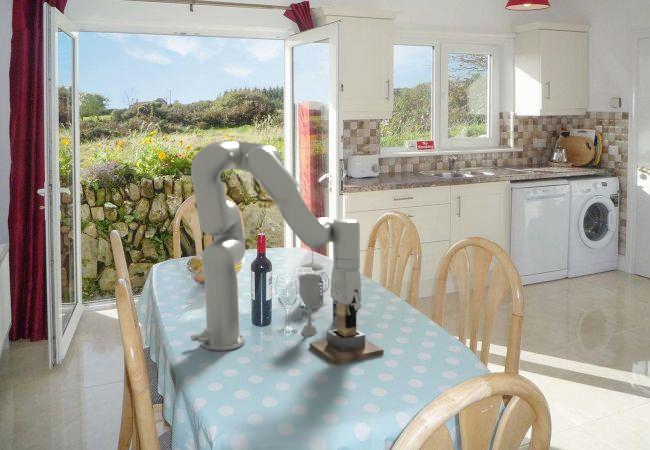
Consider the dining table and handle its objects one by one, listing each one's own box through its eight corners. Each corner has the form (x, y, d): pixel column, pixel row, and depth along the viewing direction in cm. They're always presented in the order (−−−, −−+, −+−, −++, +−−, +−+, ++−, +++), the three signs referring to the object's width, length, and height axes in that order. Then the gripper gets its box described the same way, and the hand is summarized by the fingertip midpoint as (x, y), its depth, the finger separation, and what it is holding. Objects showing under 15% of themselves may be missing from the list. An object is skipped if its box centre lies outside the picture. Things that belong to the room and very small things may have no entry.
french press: (309, 298, 235) (309, 232, 231) (335, 303, 229) (335, 235, 224) (293, 305, 228) (292, 236, 223) (319, 310, 221) (319, 240, 216)
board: (334, 365, 174) (334, 360, 174) (309, 347, 187) (309, 342, 186) (383, 354, 181) (383, 349, 181) (355, 338, 194) (356, 333, 194)
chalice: (303, 337, 195) (303, 281, 192) (294, 331, 201) (293, 275, 198) (324, 333, 198) (324, 278, 195) (315, 327, 204) (314, 273, 201)
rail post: (344, 336, 180) (344, 296, 178) (337, 332, 184) (337, 292, 182) (356, 334, 182) (356, 294, 180) (349, 330, 186) (349, 290, 184)
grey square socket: (341, 353, 178) (341, 339, 178) (327, 344, 185) (327, 331, 185) (365, 348, 182) (365, 334, 182) (350, 339, 189) (350, 326, 188)
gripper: (320, 258, 185) (321, 319, 188) (350, 270, 170) (350, 336, 174) (342, 255, 188) (343, 314, 192) (373, 267, 174) (373, 331, 177)
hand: (346, 324), depth 183 cm, fingers closed on rail post, 4 cm apart
